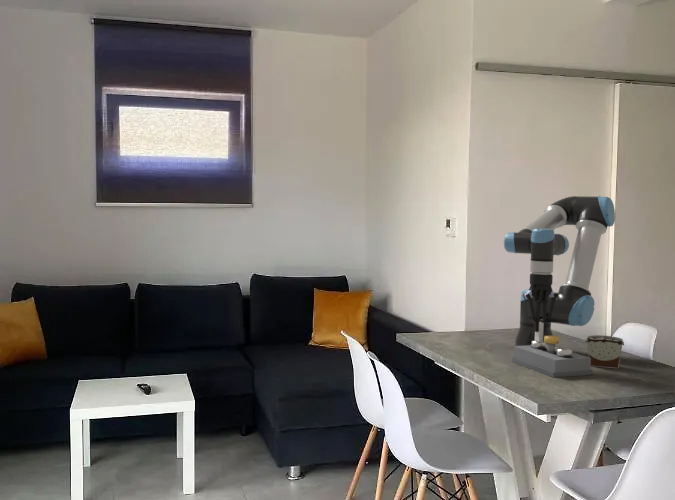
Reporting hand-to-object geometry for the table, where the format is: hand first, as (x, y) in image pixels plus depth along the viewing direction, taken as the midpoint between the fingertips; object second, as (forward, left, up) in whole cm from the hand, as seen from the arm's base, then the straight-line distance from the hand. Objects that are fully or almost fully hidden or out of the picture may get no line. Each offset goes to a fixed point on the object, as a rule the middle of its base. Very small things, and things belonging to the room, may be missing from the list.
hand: (538, 341), depth 237 cm
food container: (-21, +8, -8) cm, 24 cm away
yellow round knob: (0, +7, -2) cm, 7 cm away
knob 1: (0, 0, -5) cm, 5 cm away
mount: (0, +7, -8) cm, 10 cm away
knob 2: (0, +14, -5) cm, 15 cm away
